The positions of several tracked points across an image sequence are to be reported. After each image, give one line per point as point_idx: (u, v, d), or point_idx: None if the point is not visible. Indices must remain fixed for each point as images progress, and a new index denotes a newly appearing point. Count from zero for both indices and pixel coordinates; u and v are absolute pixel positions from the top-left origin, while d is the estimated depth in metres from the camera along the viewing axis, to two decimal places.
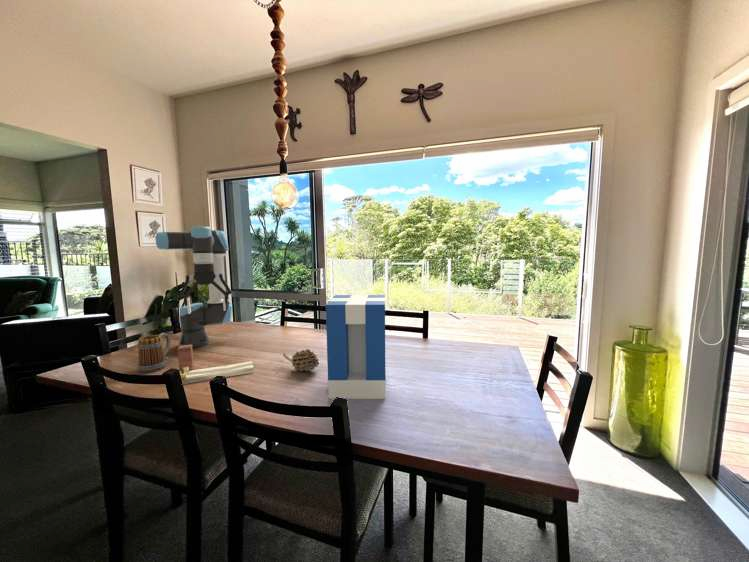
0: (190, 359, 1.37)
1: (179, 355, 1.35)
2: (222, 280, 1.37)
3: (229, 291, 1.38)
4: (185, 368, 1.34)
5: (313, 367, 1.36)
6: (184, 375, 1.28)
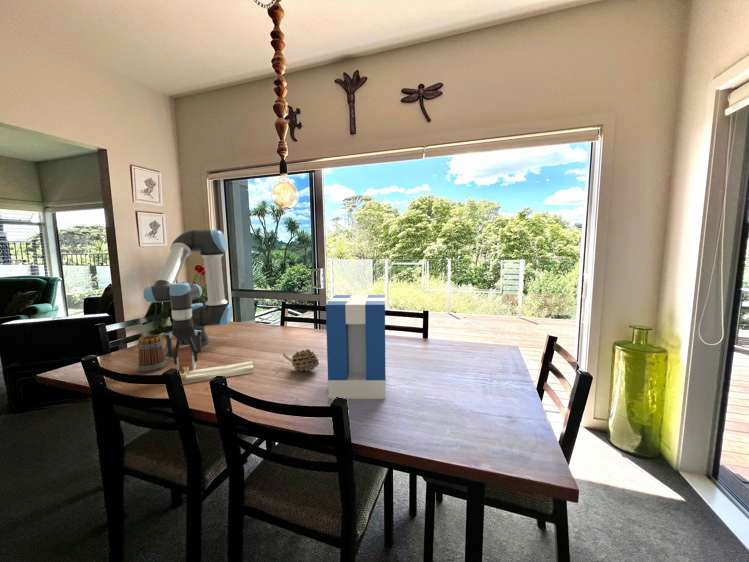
0: (190, 359, 1.37)
1: (179, 355, 1.35)
2: (198, 338, 1.38)
3: (199, 350, 1.39)
4: (185, 368, 1.34)
5: (313, 367, 1.36)
6: (184, 375, 1.28)
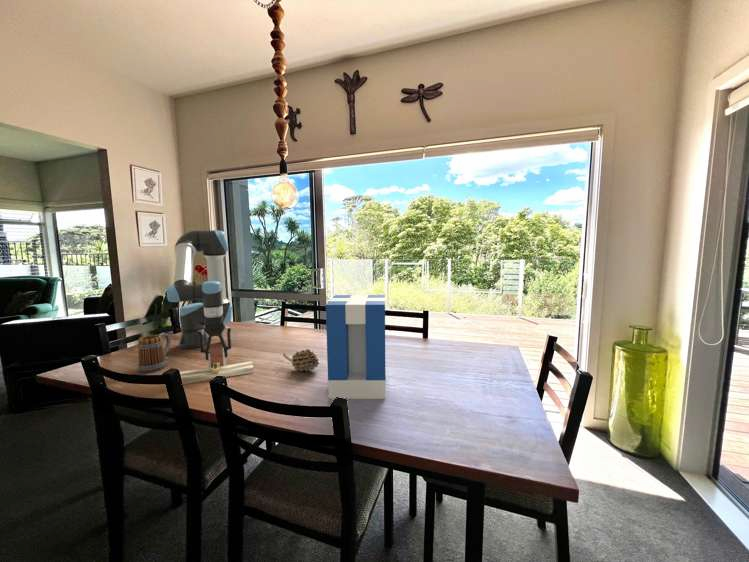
0: (221, 355, 1.42)
1: (211, 351, 1.40)
2: (228, 334, 1.43)
3: (229, 346, 1.43)
4: (217, 363, 1.39)
5: (313, 367, 1.36)
6: (217, 370, 1.32)
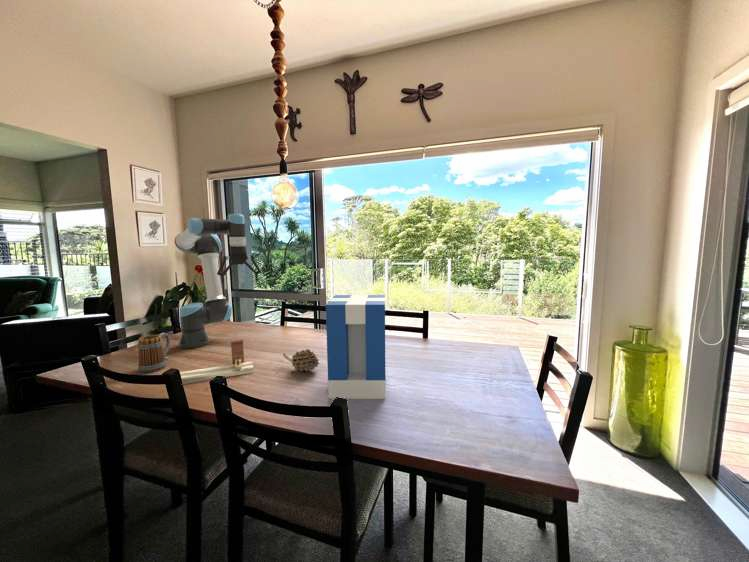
0: (242, 352, 1.45)
1: (232, 348, 1.43)
2: (253, 261, 1.58)
3: (259, 270, 1.60)
4: (238, 360, 1.42)
5: (313, 367, 1.36)
6: (240, 366, 1.36)
